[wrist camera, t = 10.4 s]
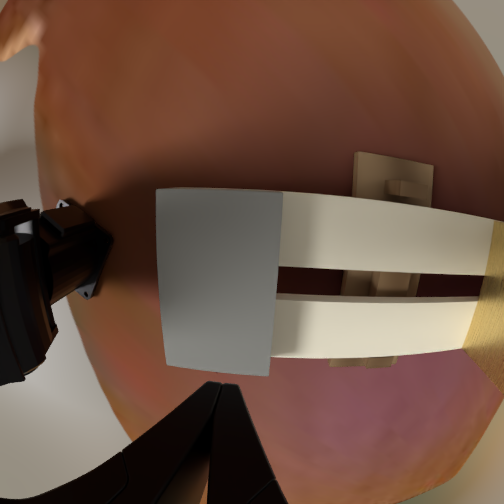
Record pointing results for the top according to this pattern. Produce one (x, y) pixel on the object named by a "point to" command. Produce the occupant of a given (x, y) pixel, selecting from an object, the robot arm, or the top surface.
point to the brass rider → (490, 315)
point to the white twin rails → (310, 256)
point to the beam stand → (392, 190)
